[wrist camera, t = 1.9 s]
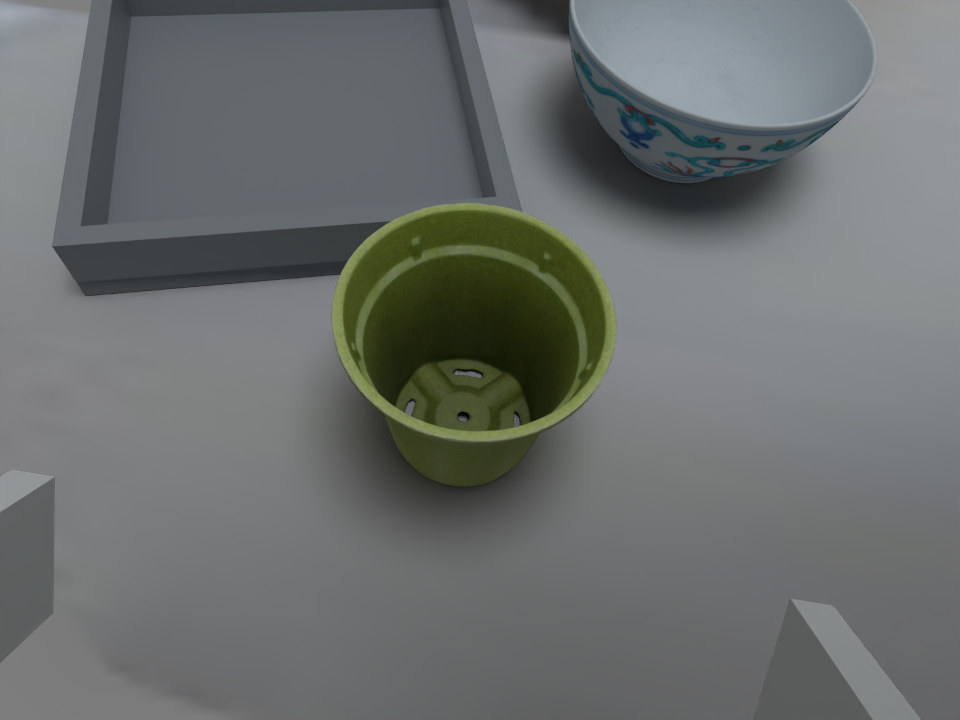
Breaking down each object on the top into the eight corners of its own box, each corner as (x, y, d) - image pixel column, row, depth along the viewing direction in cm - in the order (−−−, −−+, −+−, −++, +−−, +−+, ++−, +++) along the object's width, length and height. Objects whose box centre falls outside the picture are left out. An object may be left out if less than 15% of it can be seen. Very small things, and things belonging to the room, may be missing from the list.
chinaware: (583, 31, 45) (612, -96, 39) (813, 100, 44) (885, -21, 37) (509, 189, 38) (530, 65, 31) (785, 278, 36) (868, 167, 30)
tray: (452, 12, 45) (455, -42, 42) (512, 259, 35) (521, 211, 32) (120, 22, 42) (97, -36, 39) (85, 295, 32) (52, 246, 29)
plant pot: (334, 518, 28) (305, 426, 20) (367, 321, 33) (354, 188, 25) (567, 538, 28) (622, 454, 21) (566, 340, 33) (611, 215, 26)
